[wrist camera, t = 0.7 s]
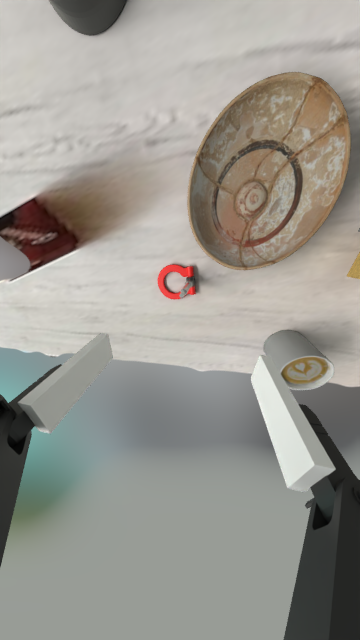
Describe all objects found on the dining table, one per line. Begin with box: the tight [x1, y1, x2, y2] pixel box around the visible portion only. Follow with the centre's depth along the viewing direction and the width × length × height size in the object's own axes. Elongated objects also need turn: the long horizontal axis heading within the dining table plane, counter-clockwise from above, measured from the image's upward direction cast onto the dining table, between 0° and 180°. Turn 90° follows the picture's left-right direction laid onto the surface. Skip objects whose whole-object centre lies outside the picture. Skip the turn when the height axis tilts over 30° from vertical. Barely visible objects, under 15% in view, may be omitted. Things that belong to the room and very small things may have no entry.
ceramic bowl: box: [187, 72, 351, 270], centre depth 25 cm, size 23×24×5 cm
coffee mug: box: [264, 330, 334, 390], centre depth 36 cm, size 13×10×10 cm
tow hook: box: [158, 264, 196, 299], centre depth 31 cm, size 8×13×9 cm
